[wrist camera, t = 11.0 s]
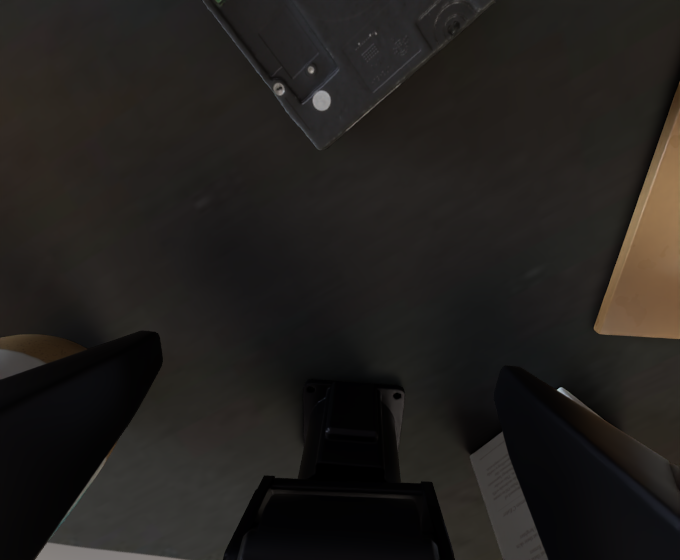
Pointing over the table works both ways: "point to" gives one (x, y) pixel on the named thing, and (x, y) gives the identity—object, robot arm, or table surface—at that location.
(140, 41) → the table surface
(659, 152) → the cork mat
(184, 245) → the table surface
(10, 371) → the vase
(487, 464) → the small box
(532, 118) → the table surface
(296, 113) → the disk drive
